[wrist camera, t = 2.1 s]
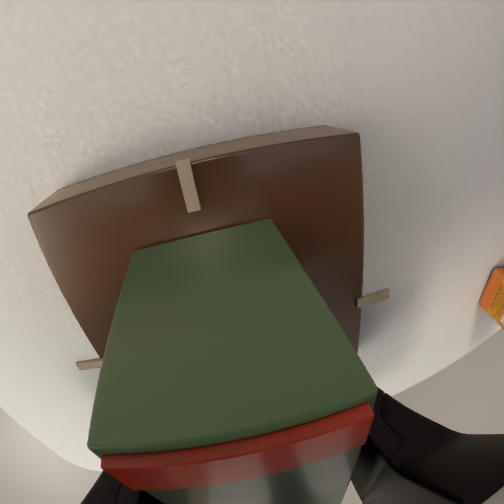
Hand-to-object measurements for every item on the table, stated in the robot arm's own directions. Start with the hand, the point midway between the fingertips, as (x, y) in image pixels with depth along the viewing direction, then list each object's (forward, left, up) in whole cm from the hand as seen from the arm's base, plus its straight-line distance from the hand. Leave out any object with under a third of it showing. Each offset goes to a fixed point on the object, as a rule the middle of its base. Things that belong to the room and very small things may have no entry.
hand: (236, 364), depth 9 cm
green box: (0, 0, -1) cm, 1 cm away
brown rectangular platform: (0, 0, -4) cm, 4 cm away
